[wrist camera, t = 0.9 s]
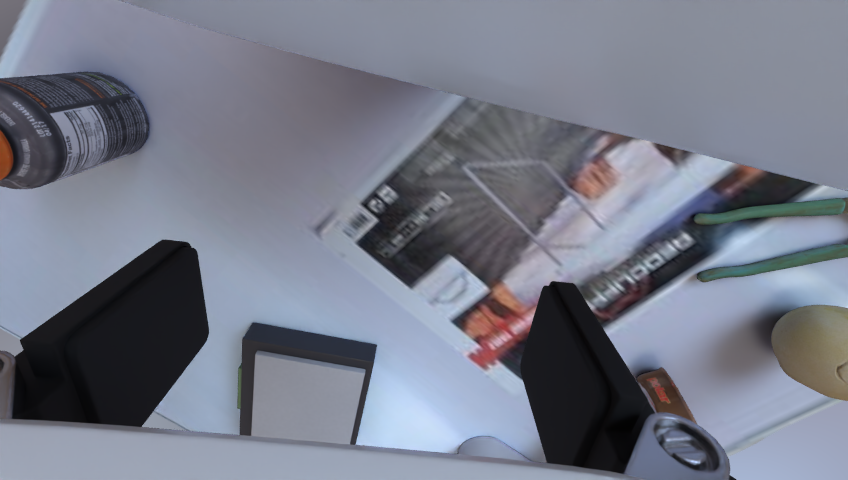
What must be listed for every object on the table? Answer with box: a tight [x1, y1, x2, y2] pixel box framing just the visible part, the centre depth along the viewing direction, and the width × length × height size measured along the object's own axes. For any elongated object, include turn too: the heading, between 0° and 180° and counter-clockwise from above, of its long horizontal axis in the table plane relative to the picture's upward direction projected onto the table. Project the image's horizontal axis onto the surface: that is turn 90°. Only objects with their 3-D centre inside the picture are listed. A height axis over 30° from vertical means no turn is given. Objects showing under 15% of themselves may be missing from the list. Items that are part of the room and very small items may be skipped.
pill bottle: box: [0, 72, 149, 189], centre depth 24 cm, size 6×6×11 cm
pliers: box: [694, 198, 848, 282], centre depth 32 cm, size 20×6×1 cm, turn 101°
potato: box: [771, 305, 848, 401], centre depth 33 cm, size 8×8×8 cm
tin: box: [637, 368, 697, 424], centre depth 38 cm, size 15×3×8 cm, turn 28°
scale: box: [237, 323, 377, 445], centre depth 39 cm, size 14×12×3 cm
